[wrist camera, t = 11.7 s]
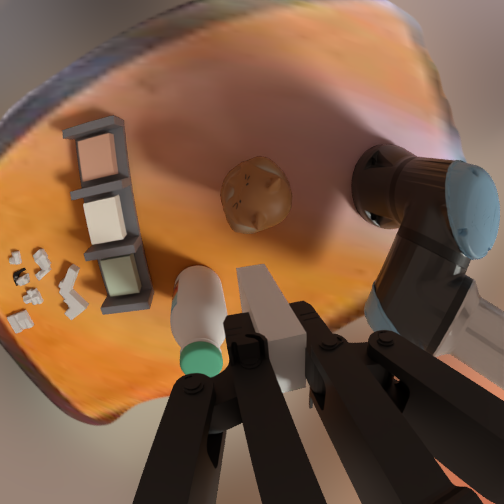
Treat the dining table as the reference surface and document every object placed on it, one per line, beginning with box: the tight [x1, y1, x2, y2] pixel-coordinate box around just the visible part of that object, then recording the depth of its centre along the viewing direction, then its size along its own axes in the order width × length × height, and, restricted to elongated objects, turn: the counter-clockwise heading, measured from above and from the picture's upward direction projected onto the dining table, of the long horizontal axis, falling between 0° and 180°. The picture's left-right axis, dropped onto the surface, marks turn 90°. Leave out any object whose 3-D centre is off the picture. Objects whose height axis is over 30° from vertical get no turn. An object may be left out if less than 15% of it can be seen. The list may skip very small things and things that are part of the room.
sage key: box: [100, 253, 142, 297], centre depth 41 cm, size 5×6×2 cm
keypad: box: [62, 115, 154, 315], centre depth 38 cm, size 8×28×6 cm, turn 6°
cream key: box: [83, 195, 127, 245], centre depth 37 cm, size 5×6×2 cm
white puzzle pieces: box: [7, 248, 89, 333], centre depth 40 cm, size 20×24×2 cm
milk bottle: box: [170, 265, 227, 378], centre depth 37 cm, size 8×8×20 cm
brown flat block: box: [78, 133, 118, 182], centre depth 35 cm, size 5×6×2 cm
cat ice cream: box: [221, 156, 292, 234], centre depth 34 cm, size 9×8×18 cm
